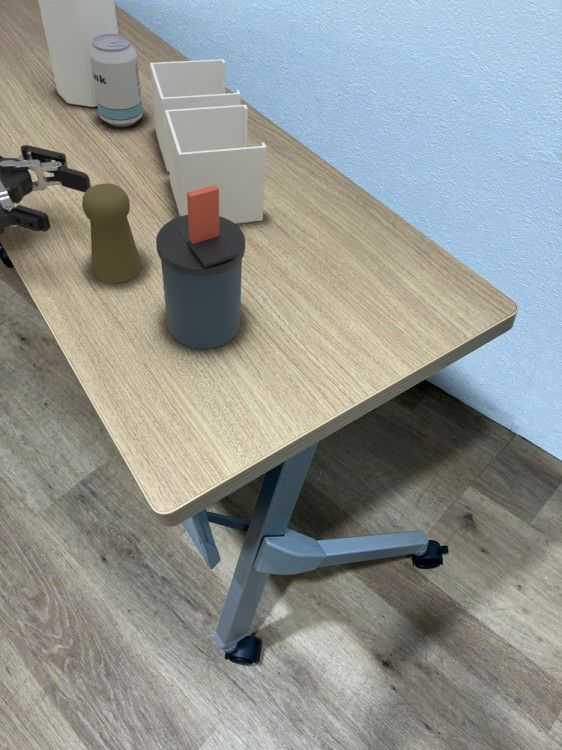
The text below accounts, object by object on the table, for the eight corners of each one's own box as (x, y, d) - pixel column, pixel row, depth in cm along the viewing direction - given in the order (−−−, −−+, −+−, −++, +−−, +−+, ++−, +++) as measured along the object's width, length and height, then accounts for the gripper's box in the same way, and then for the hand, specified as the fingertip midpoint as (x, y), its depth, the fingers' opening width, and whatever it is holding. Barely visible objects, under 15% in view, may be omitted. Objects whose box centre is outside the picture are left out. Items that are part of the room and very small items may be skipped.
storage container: (156, 133, 98) (149, 62, 89) (223, 128, 100) (223, 59, 92) (183, 229, 83) (178, 154, 74) (262, 220, 85) (266, 147, 77)
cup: (93, 115, 100) (72, -13, 86) (43, 94, 103) (14, -33, 89) (138, 90, 107) (125, -33, 92) (90, 71, 110) (70, -50, 96)
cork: (89, 255, 78) (73, 178, 69) (137, 249, 79) (127, 173, 71) (95, 287, 74) (78, 210, 66) (145, 279, 76) (135, 203, 67)
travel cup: (152, 311, 72) (141, 226, 63) (220, 287, 76) (220, 204, 67) (185, 362, 68) (179, 278, 58) (256, 334, 71) (261, 252, 62)
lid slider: (186, 244, 61) (183, 192, 57) (218, 234, 63) (218, 183, 58) (204, 267, 59) (202, 216, 55) (237, 257, 61) (238, 206, 56)
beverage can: (93, 114, 100) (80, 35, 91) (132, 105, 103) (124, 28, 94) (109, 134, 97) (98, 54, 88) (150, 124, 99) (143, 46, 90)
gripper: (-105, 169, 67) (24, 208, 64) (-21, 112, 76) (96, 144, 73) (-79, 226, 73) (40, 264, 70) (-4, 167, 81) (105, 198, 79)
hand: (68, 202), depth 71 cm, fingers open, 8 cm apart
